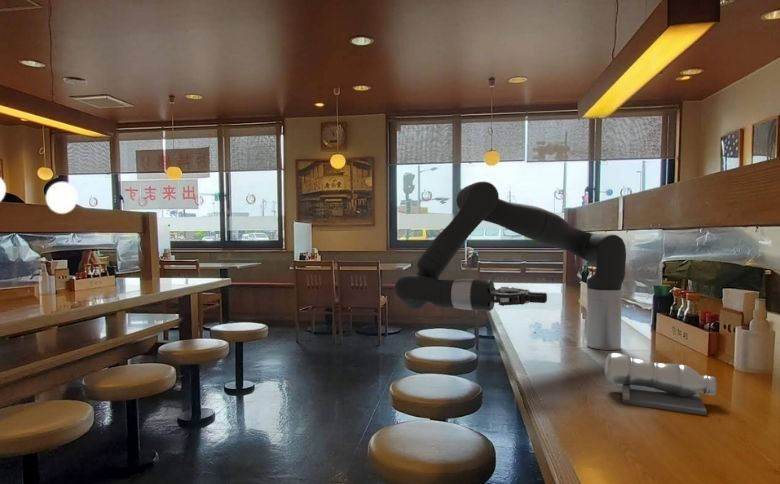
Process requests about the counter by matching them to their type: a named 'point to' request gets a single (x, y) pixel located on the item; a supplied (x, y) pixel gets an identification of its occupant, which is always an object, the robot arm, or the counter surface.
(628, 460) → the counter surface
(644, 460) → the counter surface
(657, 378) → the silver aluminum bottle
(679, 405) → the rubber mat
